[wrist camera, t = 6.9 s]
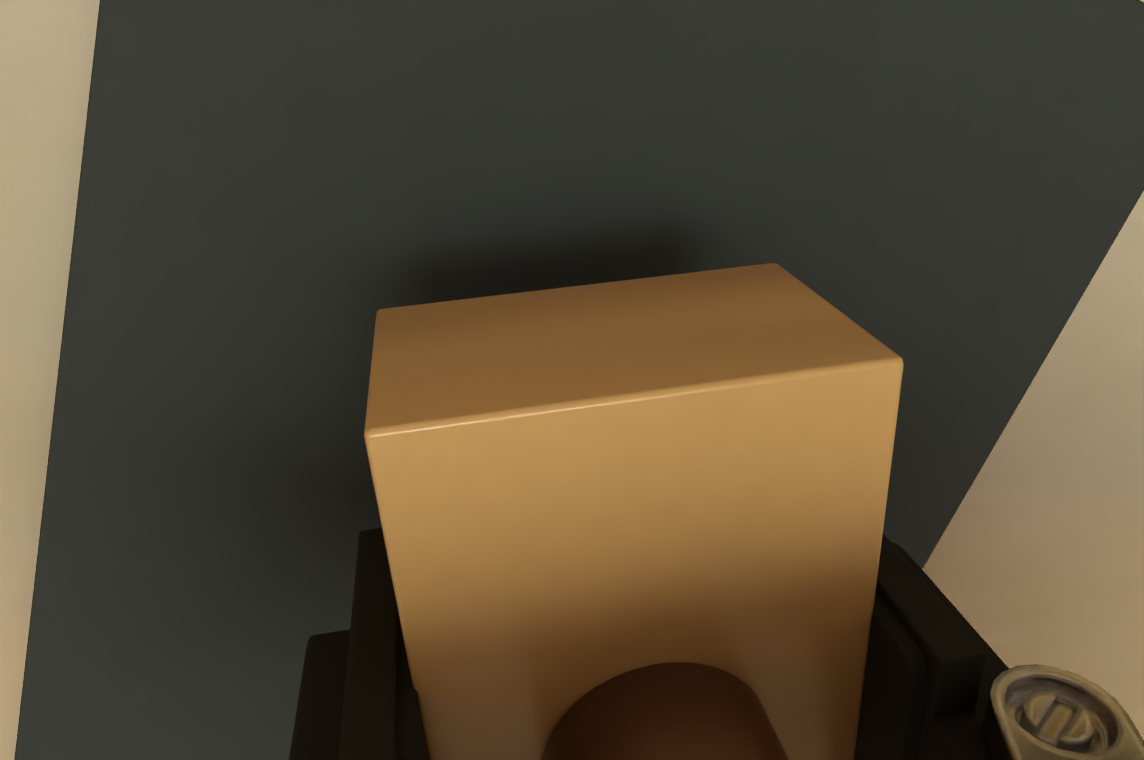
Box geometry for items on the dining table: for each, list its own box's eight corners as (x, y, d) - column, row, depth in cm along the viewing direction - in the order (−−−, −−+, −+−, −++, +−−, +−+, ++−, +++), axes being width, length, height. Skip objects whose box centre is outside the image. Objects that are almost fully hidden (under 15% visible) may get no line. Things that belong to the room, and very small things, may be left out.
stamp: (376, 296, 10) (347, 561, 6) (764, 251, 11) (1038, 454, 6) (462, 796, 14) (490, 1200, 9) (744, 740, 15) (901, 1094, 10)
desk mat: (736, 863, 21) (742, 879, 20) (13, 819, 16) (4, 838, 16) (1209, 42, 14) (1231, 42, 13) (161, -456, 9) (152, -475, 9)
